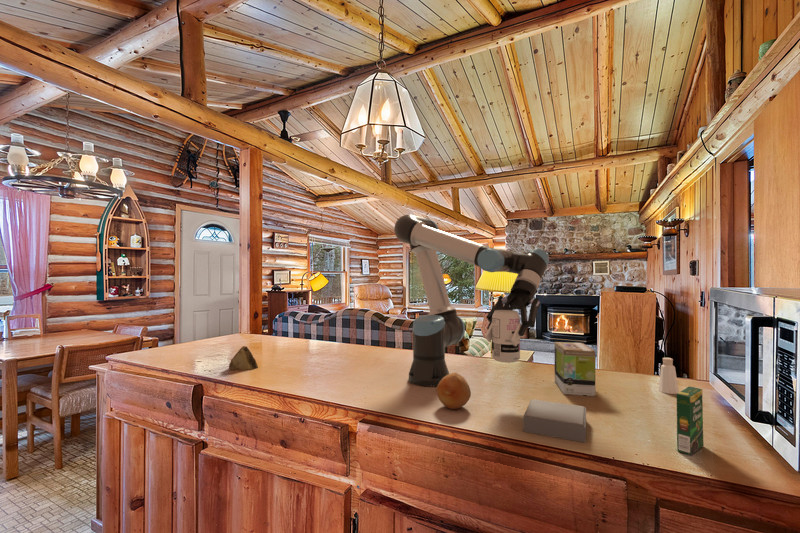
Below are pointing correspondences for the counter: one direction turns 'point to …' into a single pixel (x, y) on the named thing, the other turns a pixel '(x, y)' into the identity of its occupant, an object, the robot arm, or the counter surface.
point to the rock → (243, 360)
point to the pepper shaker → (668, 377)
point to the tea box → (575, 368)
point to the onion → (453, 391)
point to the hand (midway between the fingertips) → (500, 341)
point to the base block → (555, 420)
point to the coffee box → (689, 420)
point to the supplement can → (505, 336)
